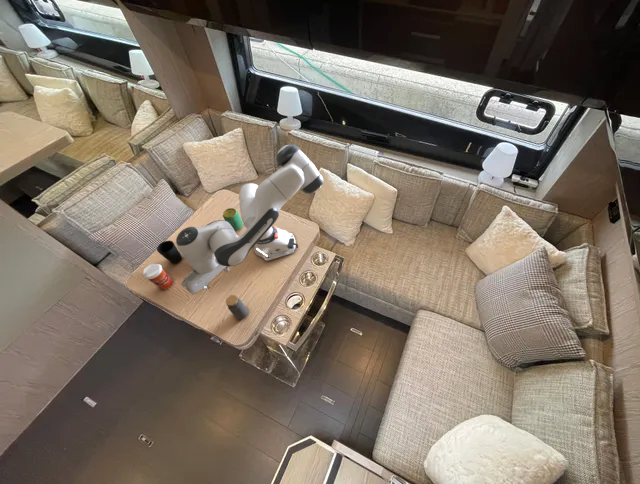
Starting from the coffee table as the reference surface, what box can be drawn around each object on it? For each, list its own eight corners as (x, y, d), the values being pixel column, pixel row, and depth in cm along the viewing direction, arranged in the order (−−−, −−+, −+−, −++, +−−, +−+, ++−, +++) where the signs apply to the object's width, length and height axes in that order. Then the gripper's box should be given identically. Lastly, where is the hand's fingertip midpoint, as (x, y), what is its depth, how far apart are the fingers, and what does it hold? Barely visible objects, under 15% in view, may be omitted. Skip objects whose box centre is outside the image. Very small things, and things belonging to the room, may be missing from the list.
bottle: (245, 319, 127) (236, 306, 116) (233, 319, 127) (222, 306, 116) (249, 307, 131) (240, 293, 119) (236, 307, 131) (226, 293, 119)
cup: (178, 267, 143) (167, 254, 134) (165, 264, 144) (153, 251, 135) (187, 254, 148) (177, 242, 139) (174, 252, 149) (163, 239, 139)
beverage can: (244, 220, 165) (238, 206, 155) (242, 230, 160) (236, 217, 150) (230, 221, 164) (223, 207, 155) (227, 231, 159) (220, 218, 150)
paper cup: (164, 294, 133) (148, 280, 123) (154, 286, 136) (138, 272, 125) (178, 281, 138) (164, 267, 127) (168, 274, 140) (154, 259, 130)
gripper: (184, 287, 94) (200, 303, 104) (232, 246, 105) (242, 265, 116) (173, 277, 96) (189, 295, 106) (221, 238, 107) (231, 257, 118)
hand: (217, 279), depth 111 cm, fingers open, 8 cm apart
